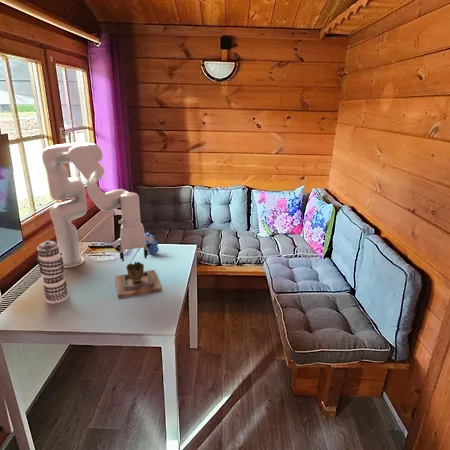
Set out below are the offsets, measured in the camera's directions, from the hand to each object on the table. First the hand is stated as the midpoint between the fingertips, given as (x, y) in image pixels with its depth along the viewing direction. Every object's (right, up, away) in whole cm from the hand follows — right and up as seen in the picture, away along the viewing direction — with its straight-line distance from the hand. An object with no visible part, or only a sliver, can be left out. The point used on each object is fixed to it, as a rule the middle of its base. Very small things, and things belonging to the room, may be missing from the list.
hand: (134, 258), depth 154 cm
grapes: (-1, -1, +35) cm, 35 cm away
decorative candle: (-31, -16, -6) cm, 35 cm away
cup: (0, -11, +4) cm, 11 cm away
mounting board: (0, -12, +4) cm, 13 cm away
